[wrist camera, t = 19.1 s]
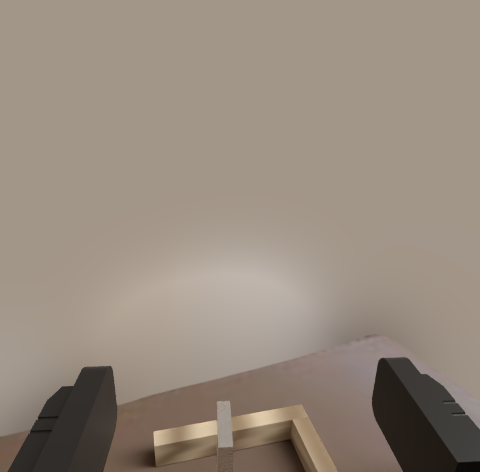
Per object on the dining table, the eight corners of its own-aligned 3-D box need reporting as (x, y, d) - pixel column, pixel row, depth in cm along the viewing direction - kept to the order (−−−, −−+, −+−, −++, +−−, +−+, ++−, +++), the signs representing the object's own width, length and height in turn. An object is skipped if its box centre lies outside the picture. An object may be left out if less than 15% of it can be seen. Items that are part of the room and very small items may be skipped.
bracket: (218, 547, 34) (218, 447, 30) (216, 494, 39) (216, 401, 35) (289, 542, 34) (298, 443, 31) (279, 489, 39) (286, 398, 35)
